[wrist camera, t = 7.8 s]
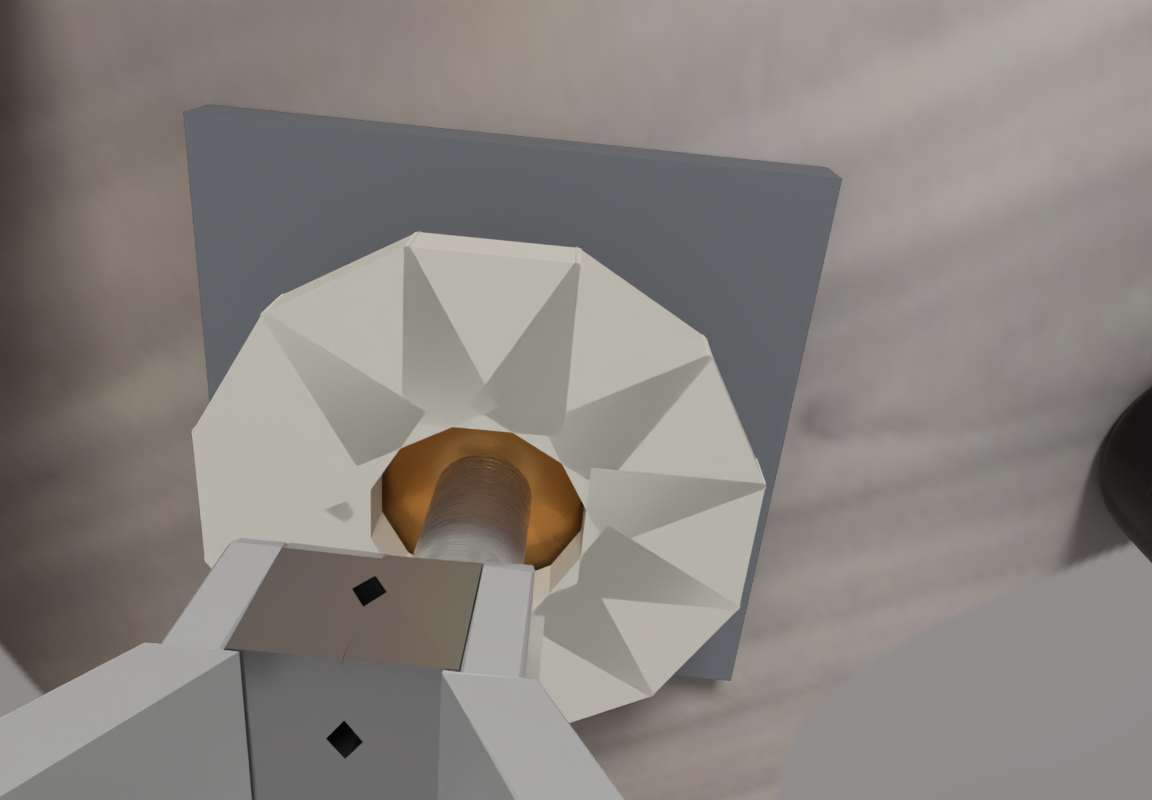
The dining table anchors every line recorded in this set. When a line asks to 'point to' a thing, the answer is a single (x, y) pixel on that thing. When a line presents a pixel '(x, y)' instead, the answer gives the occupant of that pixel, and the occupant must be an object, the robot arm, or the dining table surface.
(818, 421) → the dining table surface
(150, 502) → the dining table surface
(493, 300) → the silicone ring
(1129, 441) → the supplement bottle
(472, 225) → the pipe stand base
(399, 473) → the silver and orange rod
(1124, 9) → the dining table surface
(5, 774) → the robot arm
